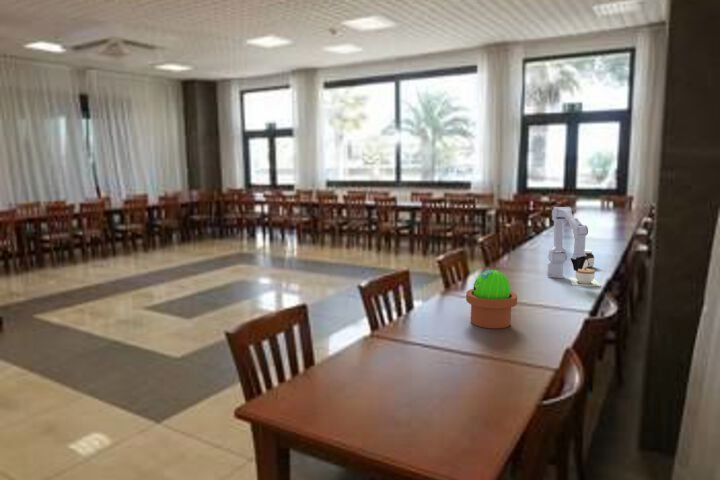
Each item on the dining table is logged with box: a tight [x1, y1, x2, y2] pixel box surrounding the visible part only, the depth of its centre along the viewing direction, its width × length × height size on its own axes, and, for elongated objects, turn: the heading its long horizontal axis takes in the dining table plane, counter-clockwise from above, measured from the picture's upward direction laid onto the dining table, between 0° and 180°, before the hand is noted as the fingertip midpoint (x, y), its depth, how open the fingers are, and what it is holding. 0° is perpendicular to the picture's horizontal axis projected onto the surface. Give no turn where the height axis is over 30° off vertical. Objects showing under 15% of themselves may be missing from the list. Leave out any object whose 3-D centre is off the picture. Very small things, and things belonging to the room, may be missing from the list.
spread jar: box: [583, 249, 595, 269], centre depth 358 cm, size 12×11×12 cm
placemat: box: [568, 277, 602, 287], centre depth 317 cm, size 15×19×1 cm
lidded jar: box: [575, 267, 596, 284], centre depth 313 cm, size 11×11×9 cm
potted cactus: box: [465, 268, 518, 330], centre depth 237 cm, size 22×22×25 cm
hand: (578, 269), depth 305 cm, fingers open, 6 cm apart
